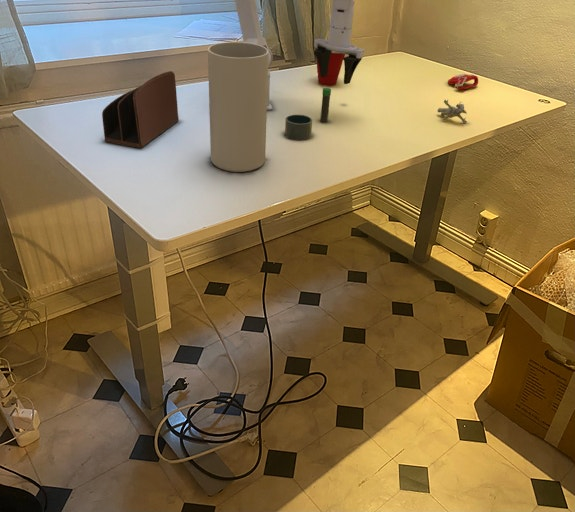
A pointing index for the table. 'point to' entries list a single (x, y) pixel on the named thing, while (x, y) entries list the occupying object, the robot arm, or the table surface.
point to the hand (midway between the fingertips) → (335, 79)
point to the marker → (325, 105)
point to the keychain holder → (461, 79)
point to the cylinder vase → (238, 105)
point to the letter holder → (142, 112)
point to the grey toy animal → (453, 111)
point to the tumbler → (298, 127)
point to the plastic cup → (331, 69)
